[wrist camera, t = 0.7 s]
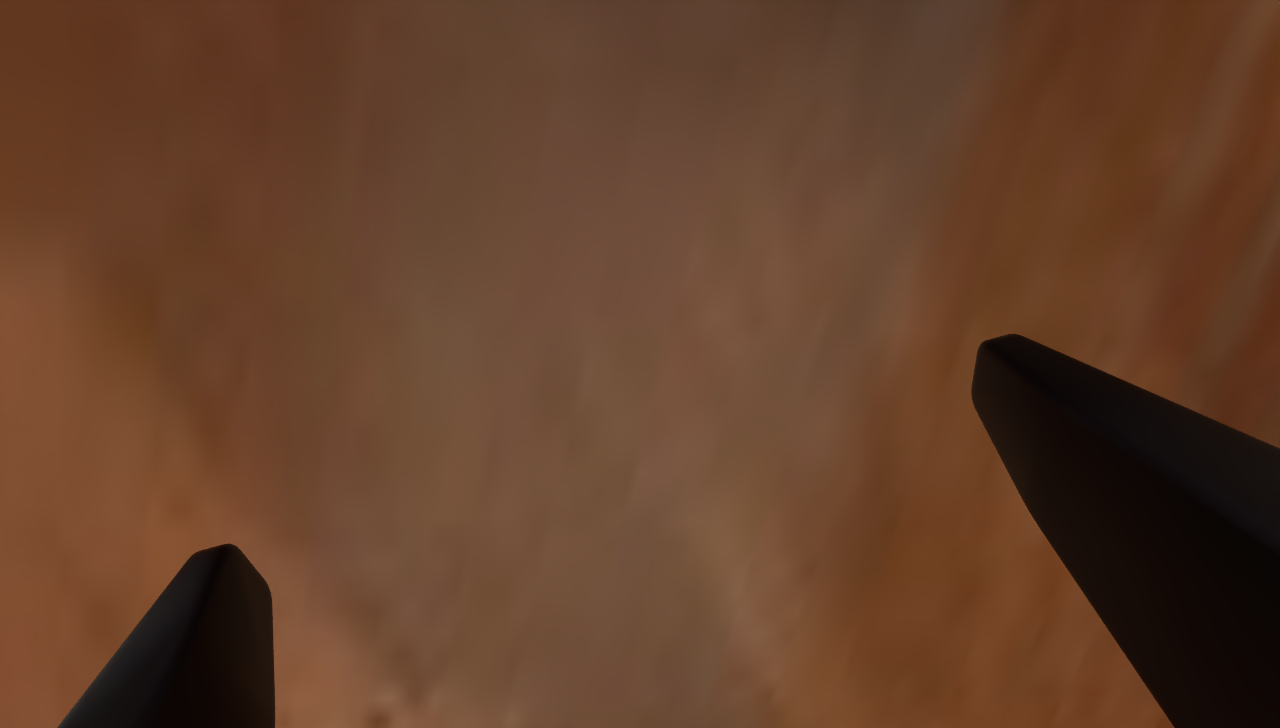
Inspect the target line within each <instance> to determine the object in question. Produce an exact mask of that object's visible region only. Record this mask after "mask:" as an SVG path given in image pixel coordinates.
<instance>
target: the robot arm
mask: <svg viewBox="0 0 1280 728" xmlns="http://www.w3.org/2000/svg"><path fill="white" fill-rule="evenodd" d="M971 393H972V400H973V404H974V407H975V409H976V411H977V413H978V415H979V417H980V419H981V421H982V423H983V425H984V427H985V429H986V430H987V432H988V434H989V436H990V438H991V440H992V442H993V444H994V446H995V448H996V450H997V452H998V454H999V455H1000V457H1001V459H1002V461H1003V463H1004V465H1005V467H1006V469H1007V471H1008V473H1009V475H1010V477H1011V478H1012V480H1013V482H1014V484H1015V486H1016V488H1017V490H1018V492H1019V494H1020V496H1021V498H1022V499H1023V501H1024V503H1025V505H1026V507H1027V508H1028V510H1029V512H1030V513H1031V515H1032V517H1033V518H1034V520H1035V521H1036V523H1037V524H1038V526H1039V528H1040V529H1041V531H1042V532H1043V534H1044V535H1045V537H1046V538H1047V540H1048V541H1049V543H1050V544H1051V545H1052V547H1053V548H1054V550H1055V551H1056V553H1057V554H1058V556H1059V557H1060V559H1061V560H1062V562H1063V563H1064V565H1065V566H1066V568H1067V569H1068V571H1069V572H1070V574H1071V575H1072V577H1073V578H1074V580H1075V581H1076V583H1077V584H1078V585H1079V587H1080V588H1081V590H1082V591H1083V593H1084V594H1085V596H1086V597H1087V599H1088V600H1089V602H1090V603H1091V605H1092V606H1093V608H1094V609H1095V611H1096V612H1097V614H1098V615H1099V617H1100V618H1101V620H1102V621H1103V623H1104V624H1105V625H1106V627H1107V628H1108V630H1109V631H1110V633H1111V634H1112V636H1113V637H1114V639H1115V640H1116V642H1117V643H1118V645H1119V646H1120V648H1121V649H1122V651H1123V652H1124V654H1125V655H1126V657H1127V658H1128V660H1129V661H1130V663H1131V664H1132V665H1133V667H1134V668H1135V670H1136V671H1137V673H1138V674H1139V676H1140V677H1141V679H1142V680H1143V682H1144V683H1145V685H1146V686H1147V688H1148V689H1149V691H1150V692H1151V694H1152V695H1153V697H1154V698H1155V700H1156V701H1157V703H1158V704H1159V705H1160V707H1161V708H1162V710H1163V711H1164V713H1165V714H1166V716H1167V717H1168V719H1169V720H1170V722H1171V723H1172V725H1173V726H1174V728H1280V449H1279V448H1277V447H1275V446H1272V445H1270V444H1268V443H1265V442H1263V441H1261V440H1259V439H1256V438H1254V437H1252V436H1250V435H1247V434H1245V433H1243V432H1240V431H1238V430H1236V429H1234V428H1231V427H1229V426H1227V425H1224V424H1222V423H1220V422H1218V421H1215V420H1213V419H1211V418H1208V417H1206V416H1204V415H1202V414H1199V413H1197V412H1195V411H1192V410H1190V409H1188V408H1186V407H1183V406H1181V405H1179V404H1176V403H1174V402H1172V401H1170V400H1167V399H1165V398H1163V397H1160V396H1158V395H1156V394H1154V393H1151V392H1149V391H1147V390H1145V389H1142V388H1140V387H1138V386H1135V385H1133V384H1131V383H1129V382H1126V381H1124V380H1122V379H1119V378H1117V377H1115V376H1113V375H1110V374H1108V373H1106V372H1103V371H1101V370H1099V369H1097V368H1094V367H1092V366H1090V365H1087V364H1085V363H1083V362H1081V361H1078V360H1076V359H1074V358H1071V357H1069V356H1067V355H1065V354H1062V353H1060V352H1058V351H1055V350H1053V349H1051V348H1049V347H1046V346H1044V345H1042V344H1039V343H1037V342H1035V341H1033V340H1030V339H1028V338H1026V337H1024V336H1021V335H1018V334H1008V335H1004V336H1000V337H997V338H993V339H989V340H986V341H984V342H982V343H981V345H980V346H979V348H978V351H977V357H976V363H975V370H974V376H973V382H972V391H971ZM57 728H275V685H274V650H273V615H272V597H271V592H270V589H269V587H268V585H267V583H266V581H265V580H264V578H263V577H262V576H261V575H260V573H259V572H258V571H257V570H256V569H255V567H254V566H253V565H252V564H251V562H250V561H249V560H248V559H247V558H246V556H245V555H244V554H243V553H242V551H241V550H240V549H239V548H238V547H237V546H235V545H232V544H224V545H220V546H216V547H212V548H209V549H205V550H201V551H198V552H196V553H195V554H193V555H192V556H191V557H190V558H189V559H188V560H187V562H186V563H185V564H184V566H183V567H182V568H181V569H180V571H179V572H178V573H177V575H176V576H175V577H174V578H173V580H172V581H171V582H170V584H169V585H168V586H167V587H166V589H165V590H164V591H163V593H162V594H161V595H160V596H159V598H158V599H157V600H156V601H155V603H154V604H153V605H152V607H151V608H150V609H149V610H148V612H147V613H146V614H145V616H144V617H143V618H142V619H141V621H140V622H139V623H138V625H137V626H136V627H135V628H134V630H133V631H132V632H131V634H130V635H129V636H128V637H127V639H126V640H125V641H124V643H123V644H122V645H121V646H120V648H119V649H118V650H117V652H116V653H115V654H114V655H113V657H112V658H111V659H110V661H109V662H108V663H107V664H106V666H105V667H104V668H103V670H102V671H101V672H100V673H99V675H98V676H97V677H96V679H95V680H94V681H93V682H92V684H91V685H90V686H89V688H88V689H87V690H86V691H85V693H84V694H83V695H82V697H81V698H80V699H79V700H78V702H77V703H76V704H75V706H74V707H73V708H72V709H71V711H70V712H69V713H68V715H67V716H66V717H65V718H64V720H63V721H62V722H61V724H60V725H59V726H58V727H57Z"/></svg>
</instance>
